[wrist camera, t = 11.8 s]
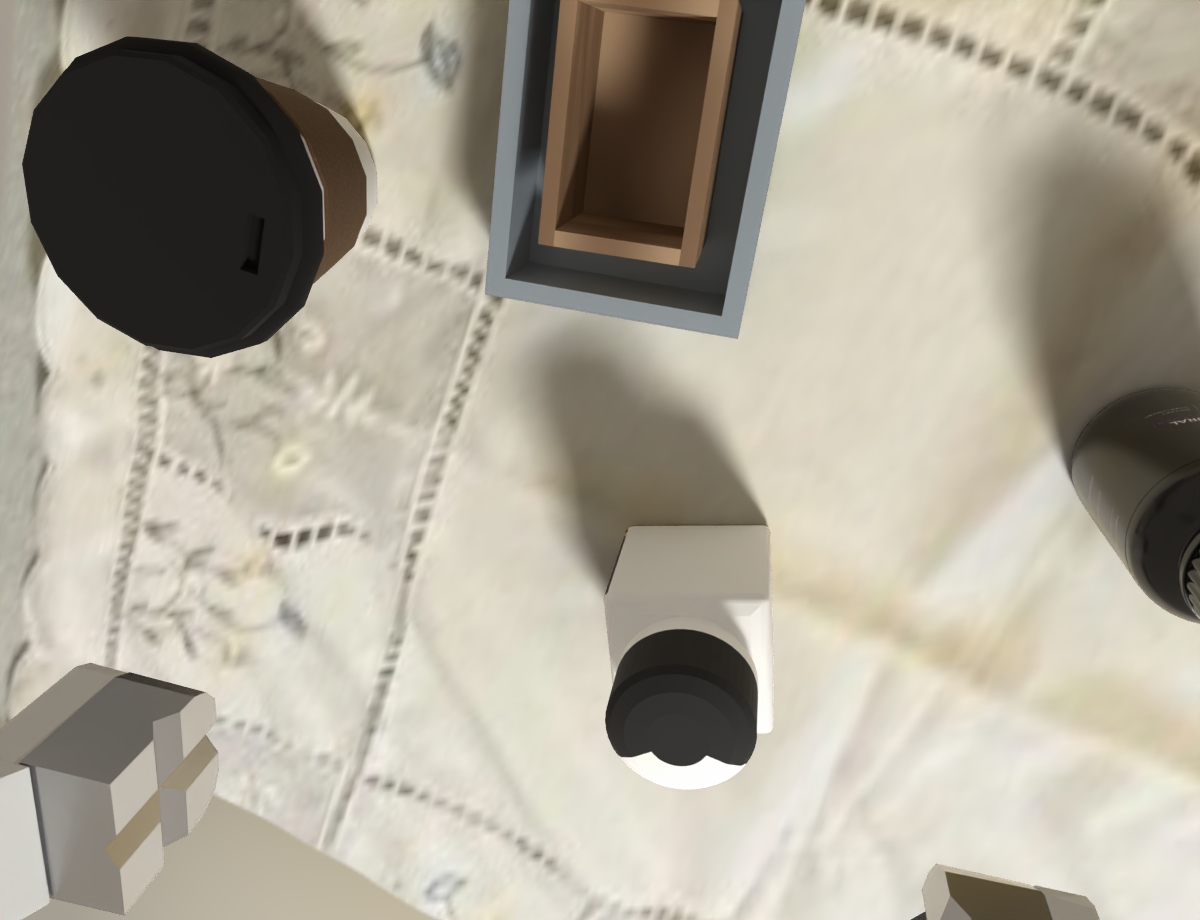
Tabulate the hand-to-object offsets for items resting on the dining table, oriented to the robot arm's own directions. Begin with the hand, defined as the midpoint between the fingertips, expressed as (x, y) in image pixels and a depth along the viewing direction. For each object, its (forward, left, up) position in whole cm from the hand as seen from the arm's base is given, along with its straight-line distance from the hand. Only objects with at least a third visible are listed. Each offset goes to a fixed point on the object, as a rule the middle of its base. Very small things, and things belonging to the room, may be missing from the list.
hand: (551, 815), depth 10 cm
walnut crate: (+4, -6, -32) cm, 33 cm away
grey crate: (+4, -5, -33) cm, 34 cm away
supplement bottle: (-20, +5, -33) cm, 39 cm away
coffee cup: (+19, -1, -33) cm, 38 cm away
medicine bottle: (-2, +16, -33) cm, 37 cm away
